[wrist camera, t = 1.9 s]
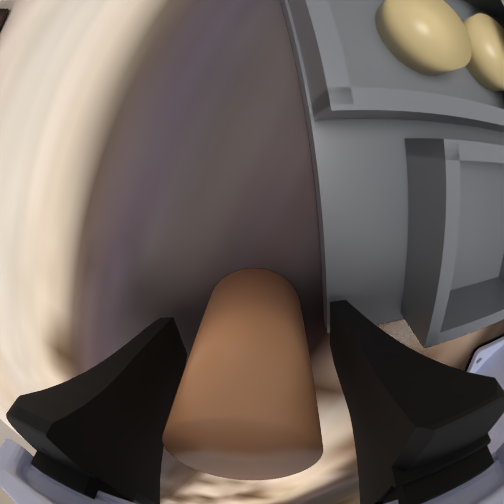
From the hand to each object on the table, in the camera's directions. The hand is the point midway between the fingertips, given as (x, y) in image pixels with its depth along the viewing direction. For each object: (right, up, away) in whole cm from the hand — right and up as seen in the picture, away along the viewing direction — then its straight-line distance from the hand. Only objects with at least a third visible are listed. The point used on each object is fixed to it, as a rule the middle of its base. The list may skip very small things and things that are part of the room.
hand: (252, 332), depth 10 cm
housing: (+9, +8, -2) cm, 12 cm away
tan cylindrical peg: (0, +1, +2) cm, 2 cm away
